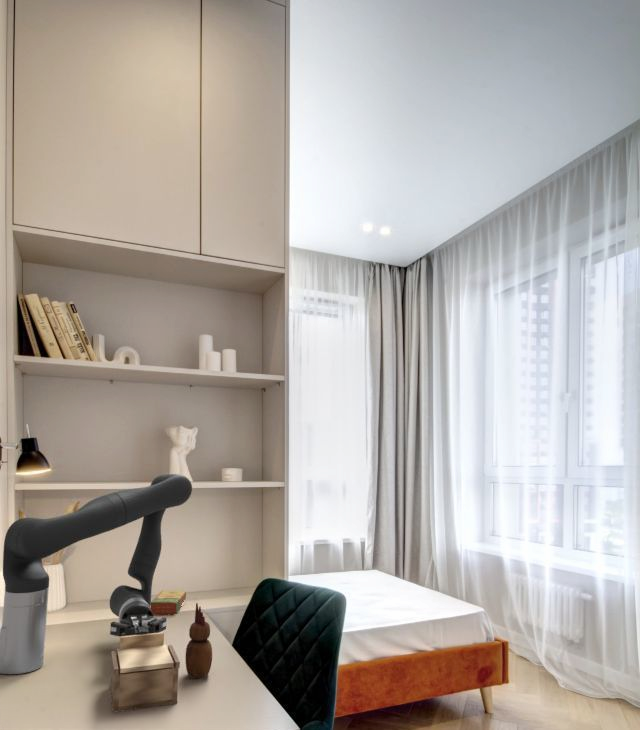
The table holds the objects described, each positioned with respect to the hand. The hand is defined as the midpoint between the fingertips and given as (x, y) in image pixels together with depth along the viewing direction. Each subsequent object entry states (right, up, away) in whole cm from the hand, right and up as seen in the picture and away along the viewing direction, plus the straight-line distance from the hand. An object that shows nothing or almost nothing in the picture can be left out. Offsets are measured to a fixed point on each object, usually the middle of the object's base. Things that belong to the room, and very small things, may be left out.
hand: (142, 636), depth 128 cm
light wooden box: (+2, -9, -7) cm, 11 cm away
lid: (+2, -2, -6) cm, 7 cm away
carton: (-10, -20, +62) cm, 66 cm away
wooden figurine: (+11, -11, +3) cm, 16 cm away
